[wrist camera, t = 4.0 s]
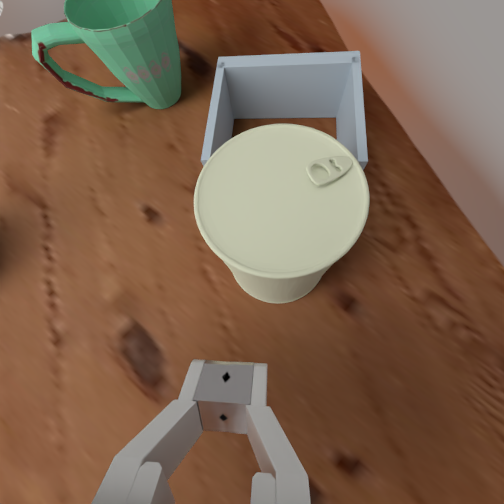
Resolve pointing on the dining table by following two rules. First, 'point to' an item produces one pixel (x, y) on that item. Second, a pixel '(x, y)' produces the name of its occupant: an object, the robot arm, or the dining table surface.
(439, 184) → the dining table surface
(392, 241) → the dining table surface
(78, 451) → the dining table surface
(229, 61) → the holder
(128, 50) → the mug
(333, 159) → the can
